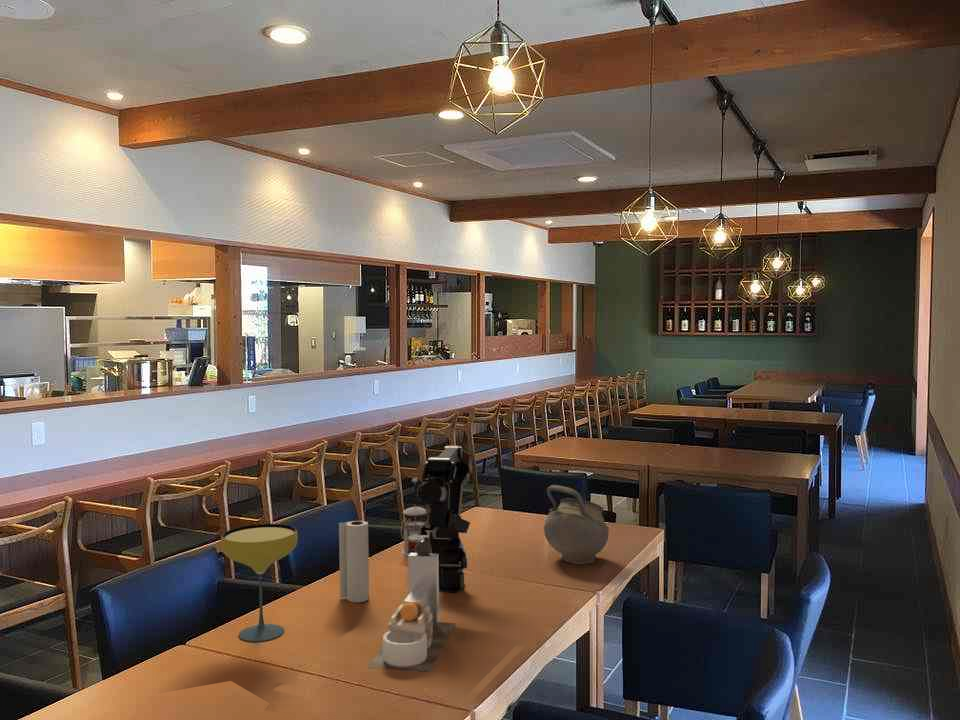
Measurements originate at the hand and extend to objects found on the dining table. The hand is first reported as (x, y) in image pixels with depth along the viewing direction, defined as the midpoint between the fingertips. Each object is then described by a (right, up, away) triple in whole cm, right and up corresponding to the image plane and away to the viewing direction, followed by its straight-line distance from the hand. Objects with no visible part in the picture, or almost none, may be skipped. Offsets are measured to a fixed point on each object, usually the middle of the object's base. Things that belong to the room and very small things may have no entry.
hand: (436, 565), depth 206 cm
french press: (-10, -10, +54) cm, 56 cm away
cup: (-5, -12, -32) cm, 35 cm away
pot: (+42, -10, +45) cm, 62 cm away
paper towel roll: (-23, -12, +10) cm, 28 cm away
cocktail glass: (-42, -13, -14) cm, 46 cm away
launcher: (-4, -13, -24) cm, 28 cm away
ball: (-5, -3, -28) cm, 29 cm away
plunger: (-3, -12, -18) cm, 22 cm away
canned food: (-7, -11, +34) cm, 36 cm away
